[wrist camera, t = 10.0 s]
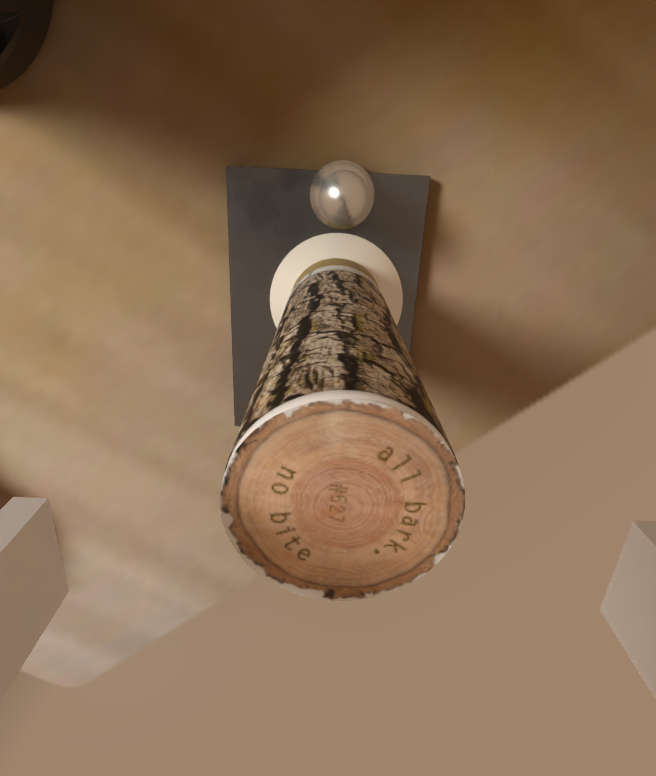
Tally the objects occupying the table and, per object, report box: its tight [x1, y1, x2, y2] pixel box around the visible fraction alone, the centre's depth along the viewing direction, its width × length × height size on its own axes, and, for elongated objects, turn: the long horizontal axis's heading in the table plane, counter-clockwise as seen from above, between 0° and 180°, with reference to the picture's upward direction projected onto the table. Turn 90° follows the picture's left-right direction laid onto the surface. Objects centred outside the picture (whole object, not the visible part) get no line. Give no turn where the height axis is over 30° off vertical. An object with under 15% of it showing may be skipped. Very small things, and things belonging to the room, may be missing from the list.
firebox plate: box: [226, 166, 430, 426], centre depth 38 cm, size 20×14×1 cm
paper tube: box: [220, 258, 465, 601], centre depth 25 cm, size 7×7×25 cm
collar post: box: [310, 160, 374, 229], centre depth 31 cm, size 4×4×6 cm
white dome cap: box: [270, 233, 403, 328], centre depth 36 cm, size 10×10×1 cm
